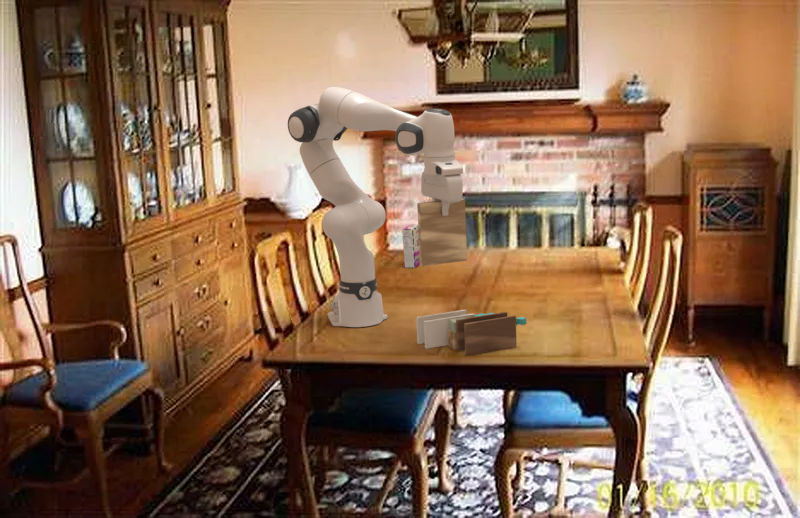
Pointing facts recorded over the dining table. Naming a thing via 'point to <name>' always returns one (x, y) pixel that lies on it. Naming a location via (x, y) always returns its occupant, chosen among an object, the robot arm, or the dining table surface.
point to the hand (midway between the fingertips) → (441, 214)
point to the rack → (486, 333)
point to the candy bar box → (411, 246)
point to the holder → (437, 327)
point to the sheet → (441, 233)
